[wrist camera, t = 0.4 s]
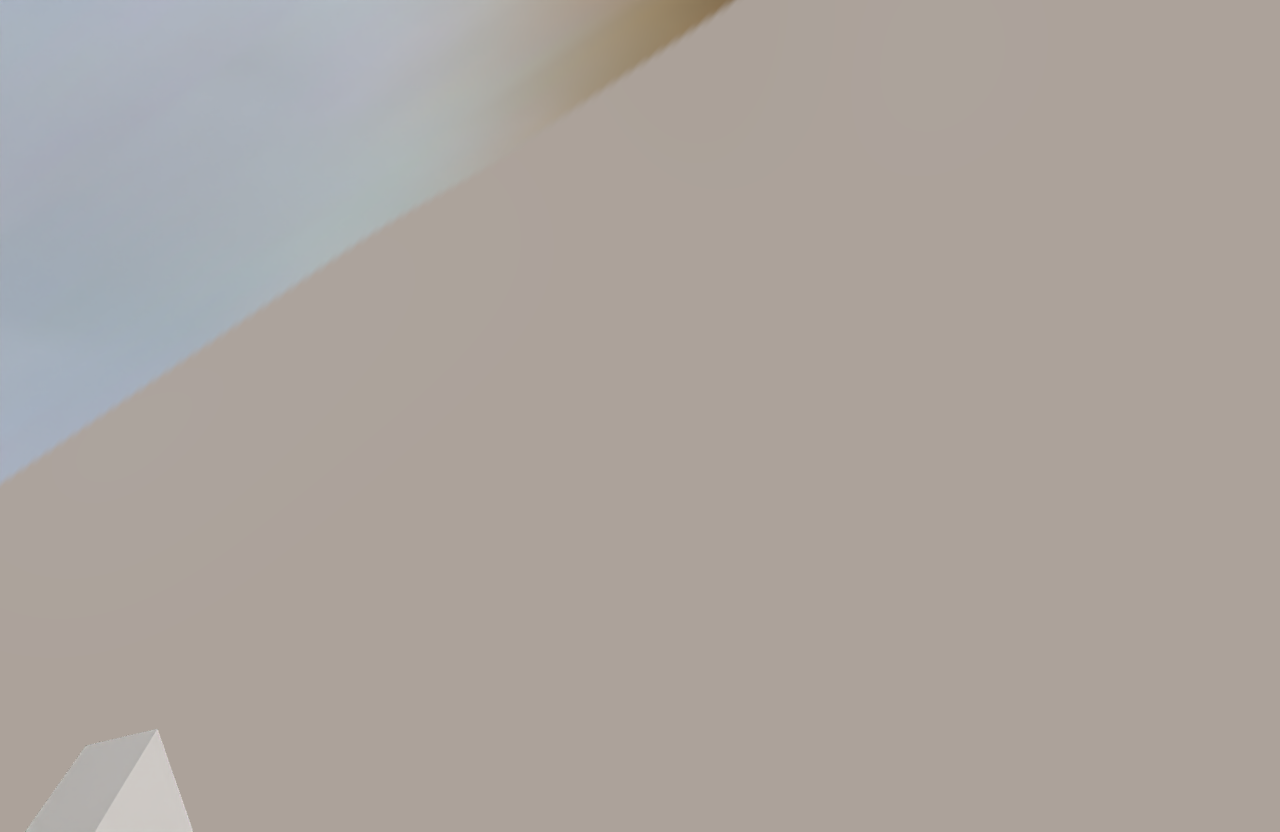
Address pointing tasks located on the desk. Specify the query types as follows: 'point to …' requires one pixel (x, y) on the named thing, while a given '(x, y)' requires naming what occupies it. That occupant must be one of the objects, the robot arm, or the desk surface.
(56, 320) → the desk surface
